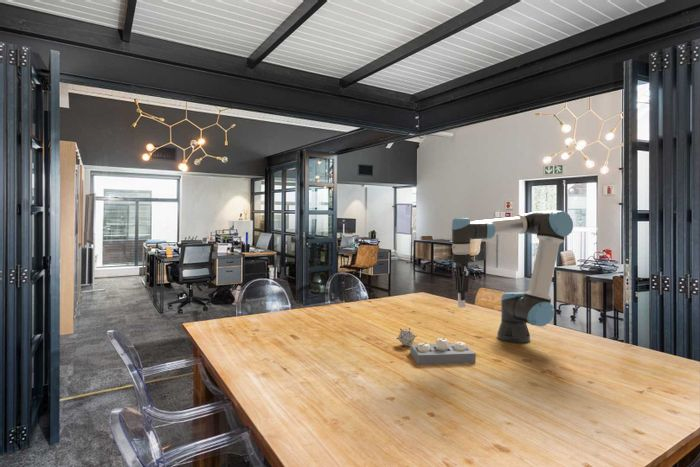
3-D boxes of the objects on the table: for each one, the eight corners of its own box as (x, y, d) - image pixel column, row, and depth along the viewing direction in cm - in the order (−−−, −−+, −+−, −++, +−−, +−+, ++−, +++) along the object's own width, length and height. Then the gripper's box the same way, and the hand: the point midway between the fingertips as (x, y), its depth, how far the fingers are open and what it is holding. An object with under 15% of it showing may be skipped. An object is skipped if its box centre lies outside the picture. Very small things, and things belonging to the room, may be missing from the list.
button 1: (463, 352, 175) (463, 341, 175) (467, 356, 170) (467, 344, 170) (452, 353, 175) (452, 341, 174) (456, 357, 170) (456, 345, 169)
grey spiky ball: (409, 354, 187) (415, 341, 181) (392, 347, 188) (398, 333, 182) (414, 340, 194) (420, 327, 188) (397, 333, 195) (403, 320, 189)
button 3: (427, 354, 173) (427, 342, 173) (431, 358, 168) (431, 346, 168) (416, 354, 173) (416, 342, 173) (419, 358, 168) (419, 346, 168)
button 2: (445, 349, 174) (445, 337, 174) (449, 353, 169) (449, 341, 169) (434, 349, 174) (434, 338, 174) (438, 353, 169) (438, 341, 169)
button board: (462, 351, 180) (462, 342, 180) (475, 362, 166) (475, 353, 166) (410, 353, 177) (410, 344, 177) (418, 364, 163) (418, 355, 163)
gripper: (447, 252, 181) (447, 304, 182) (458, 255, 168) (459, 311, 169) (463, 251, 181) (463, 303, 182) (476, 254, 169) (476, 310, 170)
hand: (461, 307), depth 176 cm, fingers closed
